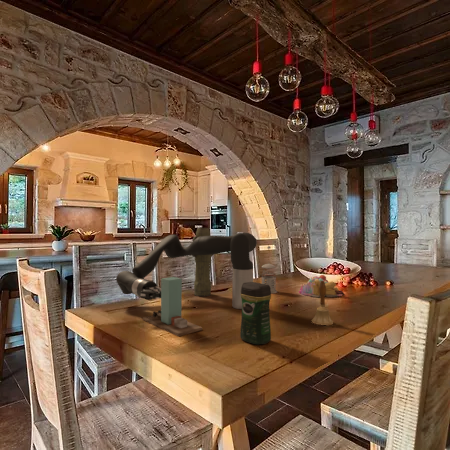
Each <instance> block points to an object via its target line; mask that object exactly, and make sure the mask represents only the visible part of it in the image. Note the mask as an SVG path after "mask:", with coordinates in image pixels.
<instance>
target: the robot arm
mask: <svg viewBox="0 0 450 450" xmlns="http://www.w3.org/2000/svg"><path fill="white" fill-rule="evenodd" d="M257 244H258V241H257V239H256V237H255V235H253V234H252V233H250V232H237V233H235V234H234V235H210V236H200V237H198V238H196V239H195V240H194V241H193V242H191V243H190V244H189V245H188V246H182V243H181V241H180V238H179V236H178V235H177V234H169V235H167V236H165V237H163V238H162V239H161V241H159V242H158V244H156V246H155V247H154V248H153V249H152V250H151V252H150V253H149V254H148V255H147V256H146V257H144V258H143V259H142V260H141V261H139V262H138V263H137V264H136V265H135V266H133V268H132V272H131V271H130V270H123V271H121V272H118V274H117V275H116V277H115V278H116V279H115V280H116V283H117V285H118V287H119V289H120V290H121V292H122V293H123V294H124V295H131V294H133V295H135V296H137V297H139V298H141V299H144V300H148V301H150V300H151V301H152V300H155V299H160V300H161V287H160V286H158V284H157V283H156V282H155V281H153V280H149V279H145V278H146V277H147V276H148V275H149V274H151V273H152V272H153V271H154V270H155V268H156V267H157V265H158V262H159V259H160V258H161V255H162V254H163V252H164V253H165V255H166V256H167V257H168V258H170V259H176V258H182V257H189V256H190V257H191V256H192V255H212V254H214V255H218V254H223V253H230V261H231V262H230V263H231V265H232V282H231V283H232V287H231V288H232V291H231V292H232V293H231V294H232V298H231V299H232V301H231V304H232V306H231V307H232V308H233V309H236V310H242V299H241V287H242V284H243V283H246V282H254V263H253V262H252V261H251V259H250V253H251V252H252V251H254V250H255V249H256V247H257Z"/></svg>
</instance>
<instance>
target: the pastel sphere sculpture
mask: <svg viewBox="0 0 450 450" xmlns="http://www.w3.org/2000/svg"><path fill="white" fill-rule="evenodd" d="M321 281H324V283H325V286H326V294H325V297H329V298H330V297H331V298H335V297H342V296H345V293H344V292H343V290H341V289H339V288H338V287H337V283H335V281H333V280H332V281H328V280H327V276H326V275H324V274H320V275H319V276H312V277H310V279H309V280H308V281H307V282H306V283H301V286H300V288H299V291H298V293H299V294H301V295H303V296H309V297H314V298H315V297H318V298H320V294H319V285H320V282H321Z"/></svg>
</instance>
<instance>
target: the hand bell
mask: <svg viewBox="0 0 450 450" xmlns="http://www.w3.org/2000/svg"><path fill="white" fill-rule="evenodd" d="M319 294H320V297H319V299H320V302H319V304H320V305H319V306H318V307H317V308H316V311H315V314H314V317H313V318H312V319H311V321H312V322H313V323H316V324H321V325H328V324H333V322H334V321H333V320H332V318H331V316H330V310H329V308H327V307H326V302H325V300H326V296H325V294H326V286H325V283H324V281H321V282H320V285H319ZM311 321H310V322H311ZM312 322H311V323H312ZM313 323H312V324H313Z"/></svg>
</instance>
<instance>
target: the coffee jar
mask: <svg viewBox="0 0 450 450" xmlns="http://www.w3.org/2000/svg"><path fill="white" fill-rule="evenodd" d="M271 298H272V293H271V289H270V286H269V285H267V284H262V282H261V283H260V282H255V281H253V282H246V283H243V284H242V287H241V299H242V309H241V323H240V336H239V337H240V339H241V340H242V341H244V342H247V343H250V344H252V345H265V344H268V343H269V342H270V341H271V340H272V334H271V333H272V331H271V318H270V302H271V301H270V300H271Z"/></svg>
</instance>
